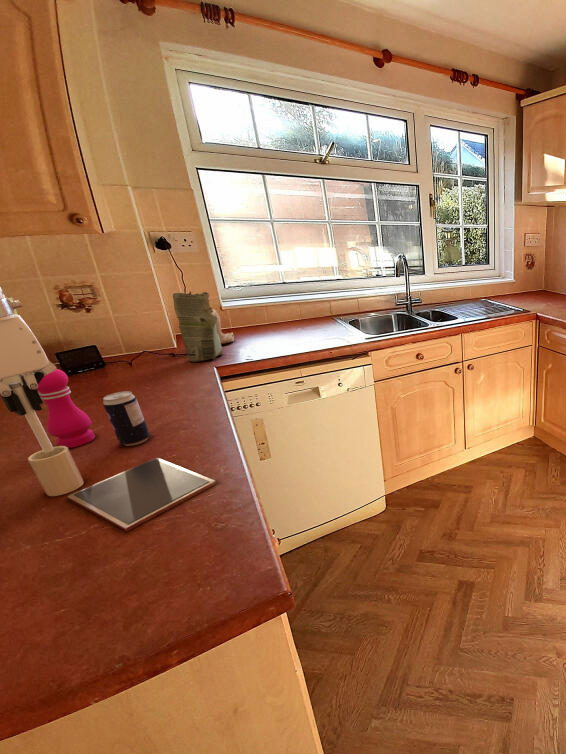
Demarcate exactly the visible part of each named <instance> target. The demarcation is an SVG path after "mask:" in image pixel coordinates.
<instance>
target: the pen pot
mask: <svg viewBox="0 0 566 754" xmlns="http://www.w3.org/2000/svg"><path fill="white" fill-rule="evenodd" d="M53 448H54V450H53V451H50V452H46V453H44V452H43V450H42V449H41V450H39V451H36V452H35V453H33V454H31V455H29V456H28V458H27V461H28V463H29V465H30V467H31V468H32V470H33V472H34V474H35V476H36V478H37V480H38V482H39V484H40V486H41V487H42V490H43V491H44V493H45V494H46V495H47V496H48V497H57V496H63V495H67V494H70V493H71V492H75V491H77V489H79V488H80V487H82V486H83V485H84V483H85V482H84V478H83V477H82V475H81V472H80V470H79V468H78V466H77V464H76V461H75V459H74V457H73V456H72V455H73V454H72V453H71V452H70V451H71V450H70V448H68V447H66V446H59V445H57V446H53Z"/></svg>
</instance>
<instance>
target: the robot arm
mask: <svg viewBox="0 0 566 754" xmlns="http://www.w3.org/2000/svg"><path fill="white" fill-rule="evenodd" d="M22 307H23V305H22V302H21V301H20V300H19V299H14V300H13V299H9V298H8V297H6V295H5V292H4V291H3V290H2V287H1V286H0V397H1V399H2V401H3V403H4V405H5V407H6V409H7V410H8V411H9V413H15V414H16V415H19V416H21V417H23V416H25V415H26V414H27V413H26V411H25V409H24V407H23V405H22V403H21V401H20V399H19V397H18V395H16V394H13V392H12V390H11V389H10V387H9V385H7V383H6V381H5V379H8V378H13V377H17V376H18V378H19V380H20V383H21V385H22V387H23V389H24V391H25V393H26V395H27V397H28V399H29V401H30V403H31V405H32V407H33V409H34V411H35V412H39V411H42V410H43V408H42V406H41V405H43V404H44V400H43V399H41V397H40V395H39V391H37V388H38V384H39V383H40V381H41V380H42V379H43V377H44V376H45V375H48V374H49V373H51V372H53V371H55V370H56V369H58V368H57V365H55V364H54V363H53V362H51V360H49V359H48V357H47V354H46V352H45V350H44V348H43V347H42V345H41V343H40V342H39V340H38V339H37V337H36V335H35V334H34V332H33V331H32V330H31V328H30V327H29V325H28V324H27V323H26V321H25V320H24V319H23V317H22V316H21V315H20V314H15V310H17V309H18V308H22Z"/></svg>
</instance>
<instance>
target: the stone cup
mask: <svg viewBox="0 0 566 754" xmlns="http://www.w3.org/2000/svg"><path fill="white" fill-rule="evenodd" d="M211 313H212V316H216V317H217V323H216V330H217V333H218V334H219V338H220V344H221V345H224V344H229V343H233V342H235V341H234V340H235V336H234V333H233V332H227V333H223V332H222V323H221V322H222V321H221V317H220V315H219V313H218V312H217V310H216V309H214V308H213V309H212V311H211Z"/></svg>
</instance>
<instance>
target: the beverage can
mask: <svg viewBox="0 0 566 754" xmlns="http://www.w3.org/2000/svg"><path fill="white" fill-rule="evenodd" d="M102 400H103V403H102V405H103V408H104V411H105V413H106V415H107V417H108V420H109V422H110V424H111V427H112V429H113V432H114V434H115V436H116V438H117V441H118V443H119V444H121V445H124V446H126V447H131V446H133V447H134V446H136V445H140V444H143V443H144V442H146V441H147V440H148V438H149V437H150V435H151V433H150V430H149V427H148V425H147V422H146V421H145V417H144V415H143V412H142V409H141V407H140V405H139V402H138V399H137V397H136V396H135V395H134V394H133V393H132V391H129V390H126V391H124V390H123V391H118V392H114V393H110V394H107V395H105V396H104V397H103V398H102Z"/></svg>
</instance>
